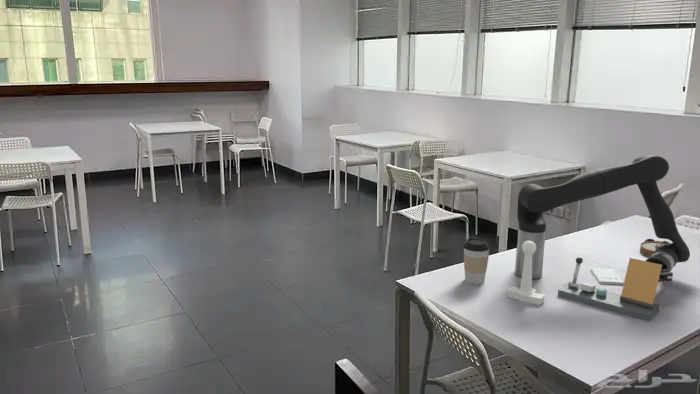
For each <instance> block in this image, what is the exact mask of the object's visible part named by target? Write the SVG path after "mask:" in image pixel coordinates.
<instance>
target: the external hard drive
mask: <svg viewBox="0 0 700 394" xmlns="http://www.w3.org/2000/svg"><path fill="white" fill-rule="evenodd" d="M590 273H592V274H591V275H593V276H595V277H594V278H595V279H596V280H597V281H596V282H598V283H599V284H600V285H618V286H623V285H624V281H623V279H622V278H621V277H620V276H619V274H618V273H617V271H615V270H614V269H612V268H597V267H595V268H594V267H593V268H592V267H591V268H590Z"/></svg>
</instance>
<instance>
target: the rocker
mask: <svg viewBox="0 0 700 394" xmlns="http://www.w3.org/2000/svg"><path fill="white" fill-rule="evenodd" d="M579 284H580V288H579V289H581V290H585V291H588V292H592V291H595V289H596V288H597V287H596V286H597V285H596V284H592V283H588V282H582V283H579Z"/></svg>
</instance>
